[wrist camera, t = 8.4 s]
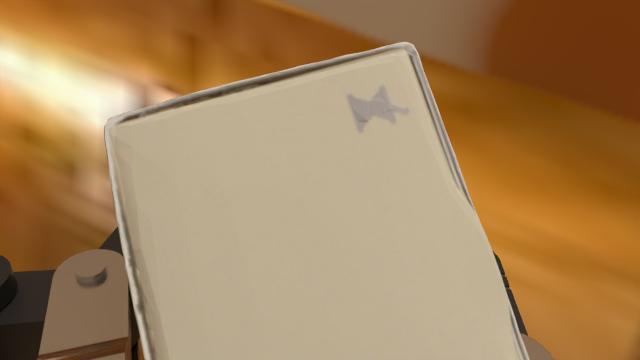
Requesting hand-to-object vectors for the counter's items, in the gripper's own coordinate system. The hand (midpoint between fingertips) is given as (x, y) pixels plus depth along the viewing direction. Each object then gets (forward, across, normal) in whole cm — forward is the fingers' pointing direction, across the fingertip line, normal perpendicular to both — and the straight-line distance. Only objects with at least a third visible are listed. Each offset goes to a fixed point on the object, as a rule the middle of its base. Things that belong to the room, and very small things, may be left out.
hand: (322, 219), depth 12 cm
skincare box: (+3, 0, +5) cm, 6 cm away
